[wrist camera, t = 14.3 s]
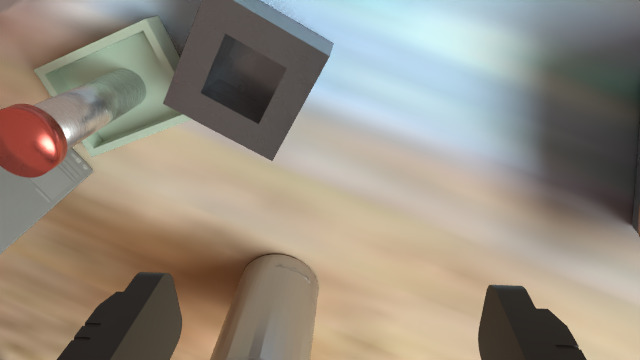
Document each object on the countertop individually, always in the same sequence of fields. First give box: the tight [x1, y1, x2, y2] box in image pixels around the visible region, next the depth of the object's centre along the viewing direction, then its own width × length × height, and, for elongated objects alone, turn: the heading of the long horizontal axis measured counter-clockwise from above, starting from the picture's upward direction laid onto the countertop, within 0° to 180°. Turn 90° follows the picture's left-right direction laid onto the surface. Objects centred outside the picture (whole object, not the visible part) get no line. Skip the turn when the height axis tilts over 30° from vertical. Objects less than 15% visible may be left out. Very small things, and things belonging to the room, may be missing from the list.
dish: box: [34, 16, 191, 157], centre depth 39 cm, size 12×9×2 cm
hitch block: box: [163, 0, 334, 161], centre depth 36 cm, size 10×10×6 cm
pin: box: [0, 69, 146, 178], centre depth 33 cm, size 5×5×14 cm
